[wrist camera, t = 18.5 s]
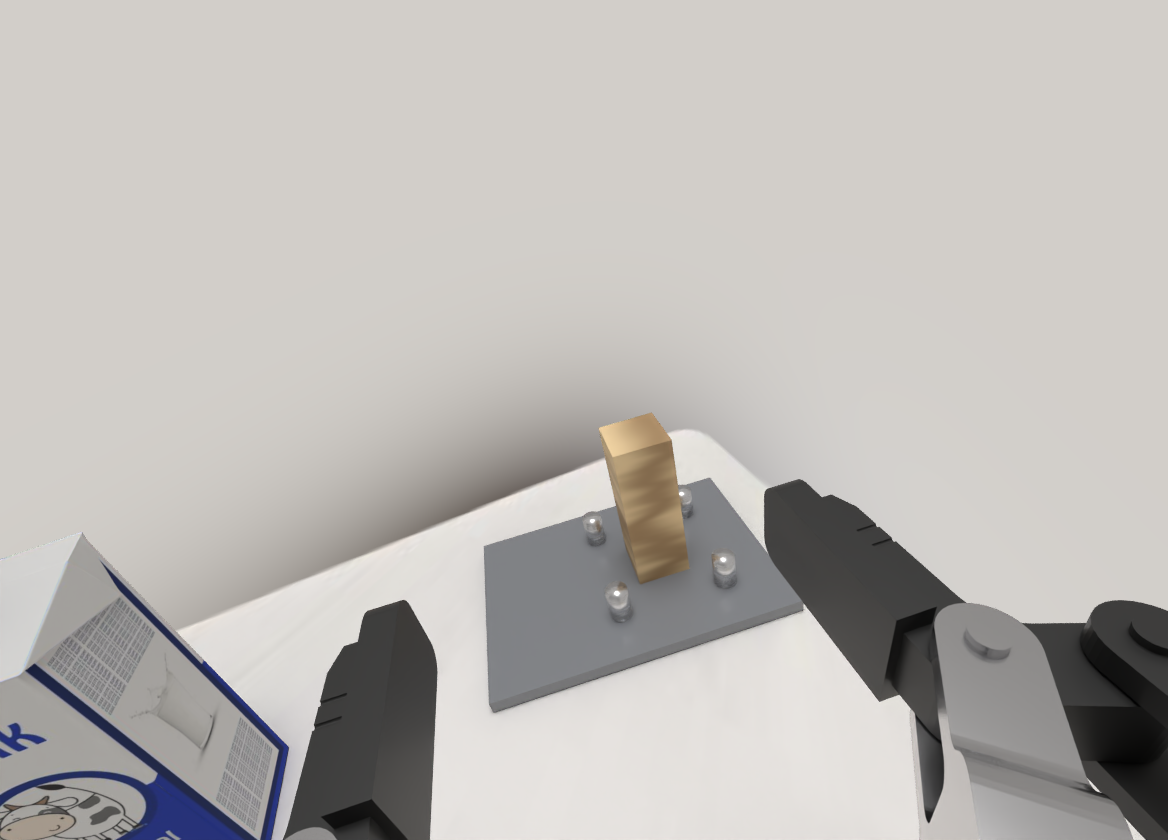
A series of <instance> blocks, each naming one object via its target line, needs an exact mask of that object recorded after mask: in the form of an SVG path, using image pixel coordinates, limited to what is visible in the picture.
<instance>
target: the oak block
mask: <svg viewBox="0 0 1168 840" xmlns="http://www.w3.org/2000/svg"><path fill="white" fill-rule="evenodd" d="M599 432H600V436H601V441H602V445H603V449H604V454H605V459H606V463H607V467H608V472H609V476H610V481H611V485H612V489H613V494H614V498H615V503H616V507H617V512H618V516H619V520H620V525H621V529H622V534H623V538H624V542H625V547H626V550H627V553H628V555H629V558H630V560H631V563H632V565H633V568H634V570H635V573H636V575H637V578H638V580H639V583H640V584H643V583H646V582H650V581H653V580H656V579H659V578H662V577H665V576H669V575H672V574H675V573H678V572H681V571H684V570H687V569H690V568H689V561H688V554H687V547H686V539H685V532H684V525H683V518H682V511H681V504H680V497H679V490H678V483H677V476H676V468H675V461H674V454H673V447H672V440H671V439H670V437H669V436H668V434H667V433H666V432H665V430H664V429H663V427H662V426H661V425H660V423H659V422H658V421H657V419H656V418H655V416H654V415H653V414H652V413H649V414H645V415H642V416H638V417H635V418H632V419H628V420H624V421H621V422H618V423H614V424H611V425H607V426H604V427H600V428H599Z"/></svg>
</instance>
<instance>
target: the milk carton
mask: <svg viewBox="0 0 1168 840" xmlns="http://www.w3.org/2000/svg"><path fill="white" fill-rule="evenodd" d="M288 748H289V747H288V746H287V745H286V744H285V743H284V742H283V741H282V740H281V739H280V738H279V737H278V736H277V735H276V734H275V733H274V732H273V731H272V730H271V729H270V728H269V726H268V725H267V724H266V723H265V722H264V721H263V720H262V719H261V718H260V717H259V716H258V715H257V714H256V713H255V712H254V711H253V710H252V709H251V708H250V707H249V706H248V705H247V704H246V703H245V702H244V701H243V700H242V699H241V698H240V697H239V696H238V695H237V694H236V693H235V692H234V691H233V690H232V688H231V687H230V686H229V685H228V684H227V683H226V682H225V681H224V680H223V679H222V678H221V677H220V676H219V675H218V674H217V673H216V672H215V671H214V670H213V669H212V668H211V667H210V666H209V665H208V664H207V663H206V662H205V661H204V660H203V659H202V658H201V657H200V656H199V655H198V654H197V653H196V651H195V650H194V649H193V648H192V647H191V646H190V645H189V644H188V643H187V642H186V641H185V640H184V639H183V638H182V637H181V636H180V635H179V634H178V633H177V632H176V631H175V630H174V629H173V628H172V627H171V626H170V625H169V624H168V623H167V622H166V621H165V620H164V619H163V618H162V617H161V616H160V615H159V614H158V612H156V610H155V609H154V608H153V607H152V606H151V605H150V604H149V603H148V602H147V601H146V600H145V599H144V598H143V597H142V596H141V595H140V594H139V593H138V592H137V591H136V590H135V589H134V588H133V587H132V586H131V585H130V584H129V583H128V582H127V581H126V580H125V579H124V578H123V577H122V575H121V574H120V573H119V572H118V571H117V570H116V569H115V568H113V566H112V565H111V564H110V563H109V562H108V561H107V560H106V559H105V558H104V557H103V556H102V555H101V554H100V553H99V552H98V551H97V550H96V549H95V548H94V547H93V546H92V545H91V544H90V543H89V542H88V541H87V539H86V538H85V536H84V535H83V533H82V532H80V533H77V534H74V535H71V536H68V537H65V538H62V539H59V540H56V541H53V542H50V543H47V544H44V545H42V546H38V547H35V548H33V549H29V550H26V551H24V552H21V553H17V554H15V555H12V556H9V557H6V558H3V559H0V840H271V836H272V831H273V826H274V821H275V816H276V811H277V805H278V800H279V795H280V790H281V785H282V779H283V774H284V769H285V764H286V759H287V754H288Z"/></svg>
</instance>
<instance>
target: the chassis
mask: <svg viewBox="0 0 1168 840" xmlns="http://www.w3.org/2000/svg"><path fill="white" fill-rule="evenodd" d="M678 490H679V497H680V504H681V511H682V518H683V525H684V532H685V539H686V547H687V554H688V561H689V568H690V569H687V570H684V571H681V572H678V573H675V574H672V575H669V576H665V577H662V578H659V579H656V580H653V581H650V582H646V583H643V584H640V583H639V580H638V578H637V575H636V573H635V570H634V568H633V565H632V563H631V560H630V558H629V555H628V553H627V550H626V547H625V542H624V538H623V534H622V529H621V525H620V520H619V516H618V512H617V507H616V506H615V507H612V508H608V509H605V510H602V511H598V512H588V513H586V514H585V515H584V516H582V517H579V518H575V519H572V520H569V521H565V522H562V523H559V524H556V525H552V526H549V527H546V528H542V529H539V530H536V531H532V532H529V533H526V534H523V535H519V536H516V537H513V538H509V539H506V540H503V541H500V542H496V543H493V544H490V545H486V546H484V565H485V596H486V626H487V657H488V688H489V705H490V707H491V709H492V710H493V712H497V711H500V710H503V709H506V708H509V707H512V706H515V705H518V704H521V703H524V702H527V701H530V700H533V699H536V698H539V697H542V696H545V695H548V694H551V693H554V692H557V691H560V690H563V689H566V688H569V687H572V686H575V685H578V684H581V683H584V682H587V681H590V680H593V679H596V678H599V677H602V676H605V675H609V674H612V673H615V672H618V671H621V670H624V669H627V668H630V667H633V666H636V665H639V664H642V663H645V662H648V661H651V660H654V659H657V658H660V657H663V656H666V655H669V654H672V653H675V652H678V651H681V650H684V649H687V648H690V647H693V646H696V645H699V644H702V643H705V642H708V641H711V640H714V639H717V638H720V637H723V636H726V635H729V634H732V633H735V632H738V631H741V630H744V629H748V628H751V627H754V626H757V625H760V624H763V623H766V622H769V621H772V620H775V619H778V618H781V617H784V616H787V615H790V614H793V613H796V612H799V611H802V610H803V601H802V600H801V599H800V598H799V596H798V595H797V594H796V592H795V591H794V590H793V588H792V587H791V586H790V585H789V583H788V582H787V581H786V579H785V578H784V577H783V575H782V574H781V573H780V572H779V570H778V569H777V568H776V566H775V565H774V563H773V562H772V560H771V558H770V556H769V555H768V553H767V552H766V551H765V549H764V548H763V547H762V546H761V544H760V543H759V542H758V540H757V539H756V538H755V536H754V535H753V534H752V532H751V531H750V530H749V528H748V527H747V526H746V524H745V523H744V522H743V521H742V519H741V518H740V517H739V515H738V514H737V513H736V511H735V510H734V509H733V507H732V506H731V505H730V503H729V502H728V501H727V500H726V498H725V497H724V496H723V494H722V493H721V492H720V490H719V489H718V488H717V486H716V485H715V484H714V482H713V481H712V480H711V478H707V479H704V480H700V481H697V482H694V483H691V484H687V485H678Z"/></svg>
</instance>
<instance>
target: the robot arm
mask: <svg viewBox="0 0 1168 840" xmlns="http://www.w3.org/2000/svg"><path fill="white" fill-rule="evenodd" d="M764 538H765V544H766V548H767V551H768V554H769V556H770V558H771V560H772V562H773V563H774V565H775V566H776V568H777V569H778V570H779V572H780V573H781V574H782V575H783V577H784V578H785V579H786V581H787V582H788V583H789V585H790V586H791V587H792V588H793V590H794V591H795V592H796V594H797V595H798V596H799V598H800V599H801V600H802V601H803V603H804V604H805V605H806V607H807V608H808V609H809V611H810V612H811V613H812V615H813V616H814V617H815V618H816V620H817V621H818V622H819V624H820V625H821V626H822V628H823V629H824V630H825V631H826V633H827V634H828V635H829V637H830V638H831V639H832V641H833V642H834V643H835V645H836V646H837V647H838V648H839V650H840V651H841V652H842V654H843V655H844V656H845V658H846V659H847V660H848V661H849V663H850V664H851V665H852V667H853V668H854V669H855V671H856V672H857V673H858V674H859V676H860V677H861V678H862V680H863V681H864V682H865V684H866V685H867V686H868V688H869V689H870V690H871V691H872V693H873V694H874V695H875V697H876V698H877V699H878V701H879V702H880V701H883V700H886V699H888V698H891V697H894V696H897V695H900V696H901V697H902V698H903V699H904V701H905V702H906V703H907V704H908V706H909V707H910V708H911V710H910V727H911V738H912V749H913V760H914V772H915V783H916V794H917V805H918V817H919V840H1133V837H1132V834H1131V832H1130V829H1129V827H1128V824H1127V822H1126V820H1125V818H1126V819H1127V820H1128V821H1129V822H1130V824H1131V825H1132V826H1133V827H1134V828H1135V829H1136V830H1137V831H1138V832H1139V833H1140V834H1141V835H1142V836H1143V837H1144V838H1145V839H1146V840H1168V611H1166V610H1164V609H1161V608H1158V607H1155V606H1152V605H1148V604H1144V603H1139V602H1134V601H1124V600H1118V601H1109V602H1104V603H1102V604H1100V605H1098V606H1097V607H1095V609H1094V610H1093V612H1092V613H1091V615H1090V617H1089V619H1088V621H1087V623H1051V624H1048V623H1047V624H1027V623H1020V622H1019V621H1018V620H1016V619H1015V618H1013V617H1011V616H1010V615H1008V614H1006V613H1004V612H1002V611H999V610H997V609H994V608H991V607H988V606H984V605H980V604H973V603H966V602H964V601H963V600H962V599H960V598H959V597H958V596H957V595H956V594H955V593H953V592H952V591H951V590H950V589H949V588H948V587H947V586H946V585H944V584H943V583H942V582H941V581H940V580H939V579H938V578H937V577H935V576H934V575H933V574H932V573H931V572H930V571H929V570H928V569H926V568H925V567H924V566H923V565H922V564H921V563H920V562H918V561H917V560H916V559H915V558H914V557H913V556H912V555H911V554H909V553H908V552H907V551H906V550H905V549H904V548H903V547H901V546H900V545H899V544H898V543H897V542H893V541H892V538H891V537H890V536H889V535H888V534H887V533H886V532H885V531H883V530H882V529H881V528H880V527H876V524H875V523H874V522H873V521H872V520H871V519H870V518H869V517H868V516H866V515H865V514H864V513H863V512H862V511H861V510H859V508H857V507H856V506H854V505H852V504H849V503H848V502H846V501H844V500H842V499H839V498H837V497H835V496H833V495H828V496H826V497H821V496H820V495H819V494H818V493H817V492H815V491H814V490H813V489H812V488H811V487H810V486H809V485H808V484H807V483H806V482H804V481H803V480H800V479H798V480H795V481H791V482H788V483H785V484H782V485H778V486H775V487H772V488H769V489H767V490H766V491H765V494H764ZM436 692H437V663H436V657H435V653H434V649H433V646H432V644H431V642H430V640H429V638H428V637H427V635H426V633H425V631H424V630H423V628H422V626H421V624H420V623H419V621H418V619H417V617H416V616H415V614H414V612H413V610H412V608H411V607H410V605H409V603H408V602H407V601H405V600H401V601H398V602H395V603H392V604H389V605H385V606H382V607H379V608H376V609H372V610H369V611H367V612H366V613H365V614H364V617H363V620H362V625H361V629H360V634H359V639H358V642H356V643H353V644H349V645H346V646H344V647H343V649H342V650H341V652H340V654H339V655H338V657H337V658H336V660H335V662H334V663H333V665H332V667H331V668H330V670H329V671H328V673H327V677H326V680H325V684H324V688H323V692H322V696H321V700H320V702H321V706H320V707H318V711H317V715H316V719H315V723H314V726H315V730H314V731H312V735H311V738H310V742H309V746H308V750H307V754H306V758H305V762H304V765H303V769H302V773H301V777H300V781H299V785H298V789H297V793H296V796H295V800H294V804H293V808H292V812H291V816H290V820H289V823H288V827H287V830H286V833H285V835H284V838H283V840H430V823H431V801H432V779H433V757H434V736H435V714H436ZM1087 778H1088V779H1089V780H1090V781H1091V782H1092V783H1093V784H1094V785H1095V786H1096V787H1097V789H1098V790H1099V791H1100V792H1101V793H1100V792H1097V791H1095V790H1094V789H1093V788H1092V786H1091V785H1090V783H1089V781H1088V779H1087ZM1124 817H1125V818H1124Z"/></svg>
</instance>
